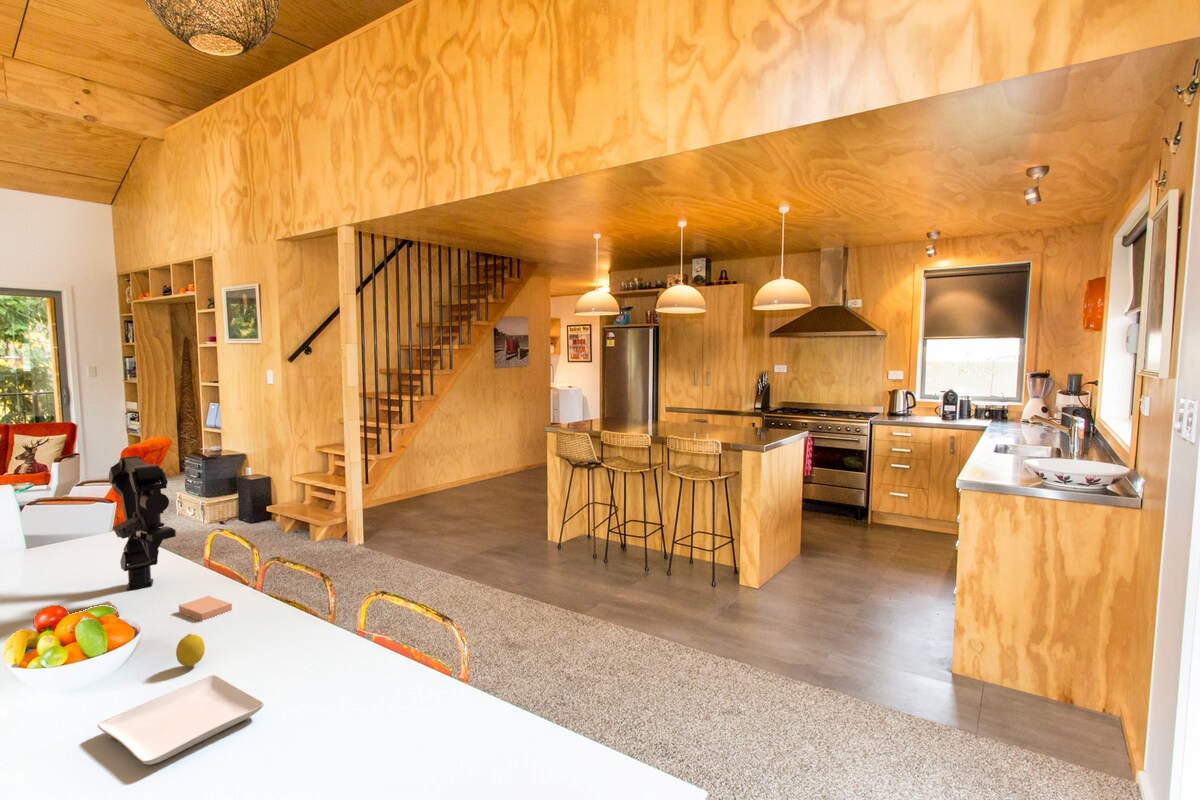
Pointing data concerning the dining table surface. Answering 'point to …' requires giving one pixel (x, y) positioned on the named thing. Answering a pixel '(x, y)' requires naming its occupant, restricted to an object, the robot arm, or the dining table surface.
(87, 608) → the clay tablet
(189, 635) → the lemon
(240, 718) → the salad plate
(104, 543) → the dining table surface
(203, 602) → the tile
